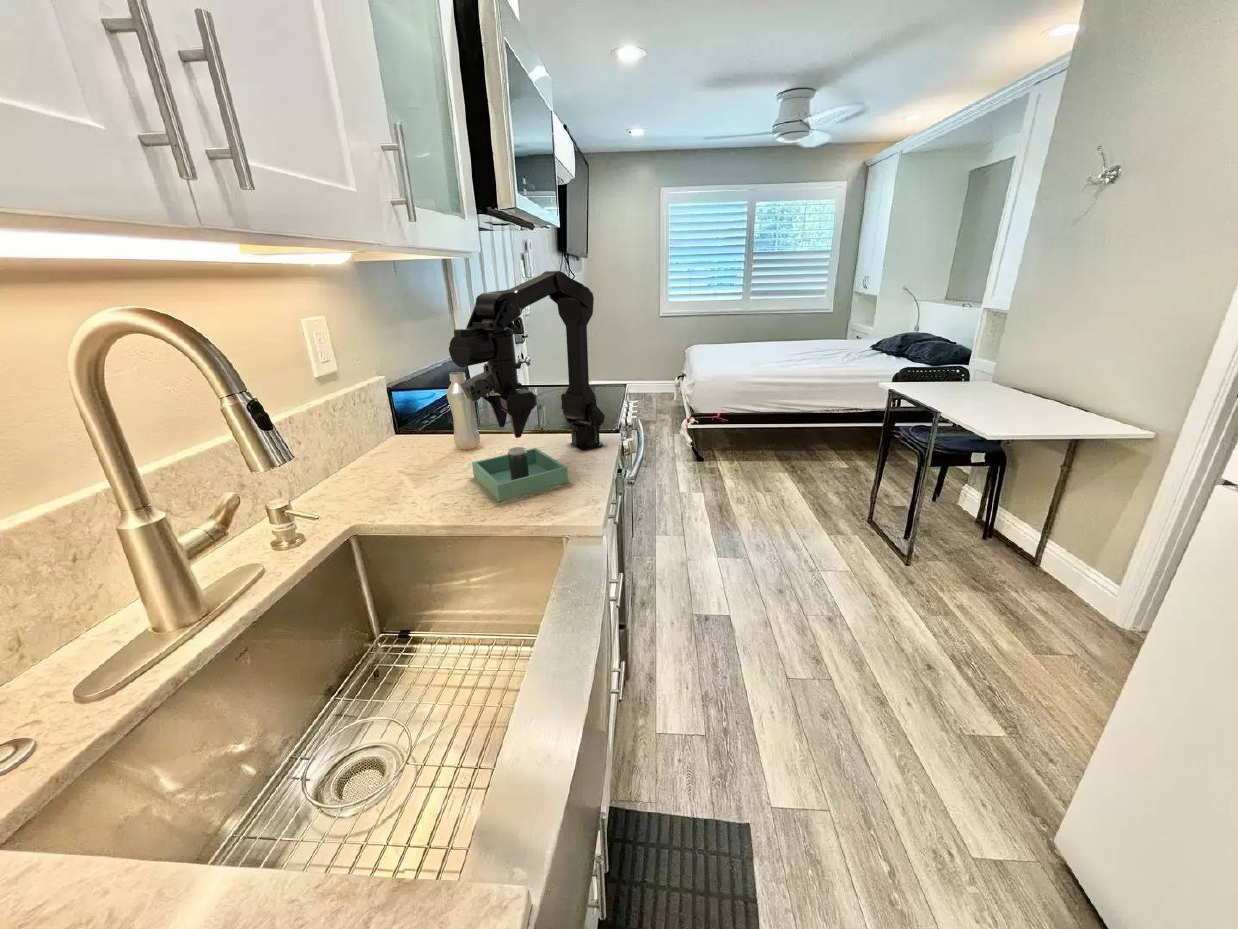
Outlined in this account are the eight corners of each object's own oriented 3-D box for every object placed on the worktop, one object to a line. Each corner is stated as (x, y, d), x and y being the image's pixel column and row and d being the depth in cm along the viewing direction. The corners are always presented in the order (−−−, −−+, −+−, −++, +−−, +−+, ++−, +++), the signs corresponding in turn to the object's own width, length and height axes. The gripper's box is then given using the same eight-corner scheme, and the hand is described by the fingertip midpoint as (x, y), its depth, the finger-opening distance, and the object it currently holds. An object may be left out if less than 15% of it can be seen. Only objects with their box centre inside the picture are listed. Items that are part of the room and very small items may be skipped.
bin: (537, 464, 118) (536, 447, 117) (568, 485, 106) (567, 467, 105) (474, 480, 110) (471, 462, 109) (500, 505, 98) (497, 485, 97)
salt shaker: (524, 474, 111) (521, 445, 108) (532, 480, 107) (529, 450, 105) (508, 478, 108) (504, 449, 106) (515, 484, 105) (511, 454, 103)
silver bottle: (474, 452, 127) (463, 376, 119) (450, 451, 128) (438, 375, 121) (485, 444, 133) (475, 370, 125) (462, 443, 134) (451, 370, 127)
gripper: (448, 357, 102) (459, 428, 108) (477, 370, 88) (488, 452, 94) (499, 351, 108) (507, 419, 114) (534, 363, 93) (541, 440, 99)
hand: (509, 432), depth 105 cm, fingers open, 9 cm apart
